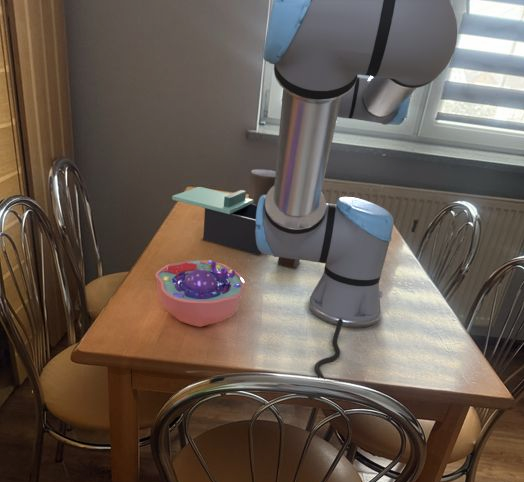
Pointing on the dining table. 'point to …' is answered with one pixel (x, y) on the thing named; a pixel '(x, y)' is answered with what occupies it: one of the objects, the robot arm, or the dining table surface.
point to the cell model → (199, 291)
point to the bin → (232, 228)
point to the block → (288, 262)
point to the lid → (214, 199)
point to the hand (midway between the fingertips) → (294, 227)
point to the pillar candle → (260, 184)
